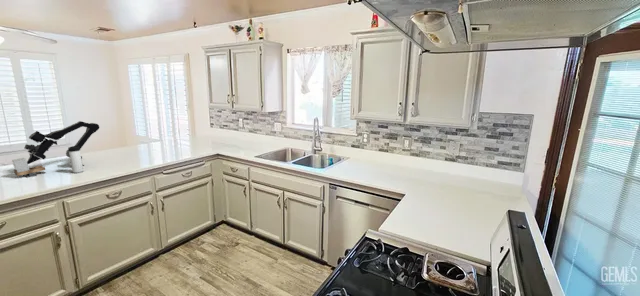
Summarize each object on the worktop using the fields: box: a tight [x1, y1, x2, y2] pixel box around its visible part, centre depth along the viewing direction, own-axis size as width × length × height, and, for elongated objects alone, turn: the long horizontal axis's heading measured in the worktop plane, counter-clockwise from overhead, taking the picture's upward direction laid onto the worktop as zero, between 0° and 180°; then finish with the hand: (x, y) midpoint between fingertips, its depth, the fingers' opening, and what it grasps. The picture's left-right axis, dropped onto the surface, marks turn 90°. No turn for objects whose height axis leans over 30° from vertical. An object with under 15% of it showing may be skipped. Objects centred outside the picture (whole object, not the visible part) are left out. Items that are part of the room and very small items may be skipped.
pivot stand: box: [16, 170, 47, 179], centre depth 203 cm, size 14×11×2 cm
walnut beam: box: [13, 165, 46, 176], centre depth 202 cm, size 14×8×4 cm, turn 147°
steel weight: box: [11, 157, 30, 173], centre depth 198 cm, size 6×6×9 cm
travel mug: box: [67, 145, 84, 174], centre depth 208 cm, size 6×7×20 cm
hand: (27, 163), depth 200 cm, fingers closed, pressing on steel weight
